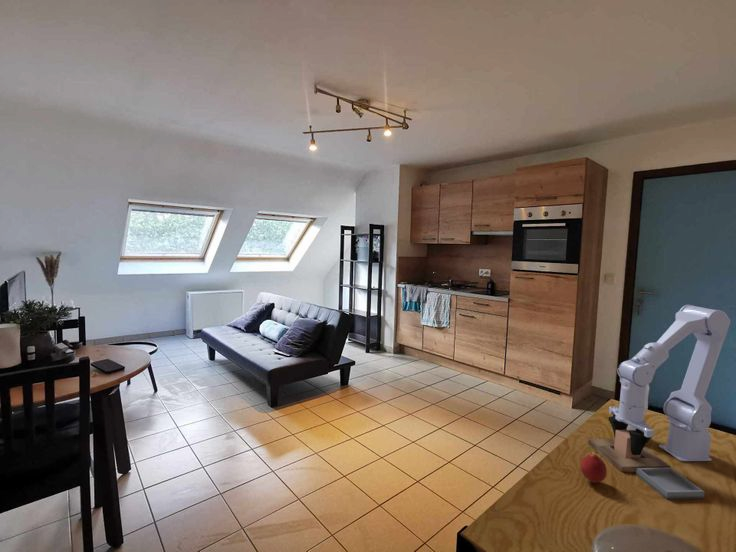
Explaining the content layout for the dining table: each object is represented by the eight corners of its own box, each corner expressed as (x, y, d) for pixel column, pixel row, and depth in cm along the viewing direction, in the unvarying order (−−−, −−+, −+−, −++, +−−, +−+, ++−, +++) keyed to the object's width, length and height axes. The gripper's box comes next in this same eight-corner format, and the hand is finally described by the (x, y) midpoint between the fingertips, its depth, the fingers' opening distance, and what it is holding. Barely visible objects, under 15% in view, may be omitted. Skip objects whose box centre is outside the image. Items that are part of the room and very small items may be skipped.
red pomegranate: (598, 476, 99) (600, 447, 98) (610, 490, 93) (612, 460, 93) (575, 474, 100) (577, 445, 99) (585, 488, 94) (588, 458, 93)
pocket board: (631, 443, 116) (631, 438, 116) (670, 471, 102) (670, 465, 102) (588, 443, 115) (588, 439, 115) (621, 471, 101) (621, 466, 101)
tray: (669, 473, 101) (670, 467, 101) (703, 498, 91) (704, 491, 91) (636, 474, 100) (636, 468, 100) (666, 499, 91) (667, 492, 90)
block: (628, 452, 111) (630, 429, 110) (640, 461, 106) (642, 437, 106) (613, 452, 111) (615, 430, 110) (625, 461, 106) (627, 438, 105)
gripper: (601, 392, 114) (597, 435, 115) (638, 415, 99) (633, 463, 101) (623, 392, 114) (619, 434, 116) (663, 414, 100) (658, 462, 101)
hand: (627, 448), depth 108 cm, fingers open, 6 cm apart
